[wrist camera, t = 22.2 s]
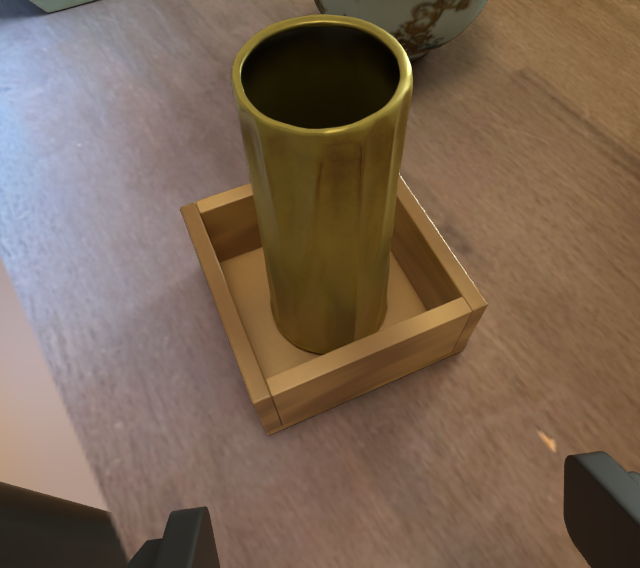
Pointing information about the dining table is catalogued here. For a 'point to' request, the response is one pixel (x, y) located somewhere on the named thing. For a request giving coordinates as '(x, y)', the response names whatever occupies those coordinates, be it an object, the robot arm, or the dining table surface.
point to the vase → (324, 169)
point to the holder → (348, 361)
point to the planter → (57, 4)
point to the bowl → (411, 19)
